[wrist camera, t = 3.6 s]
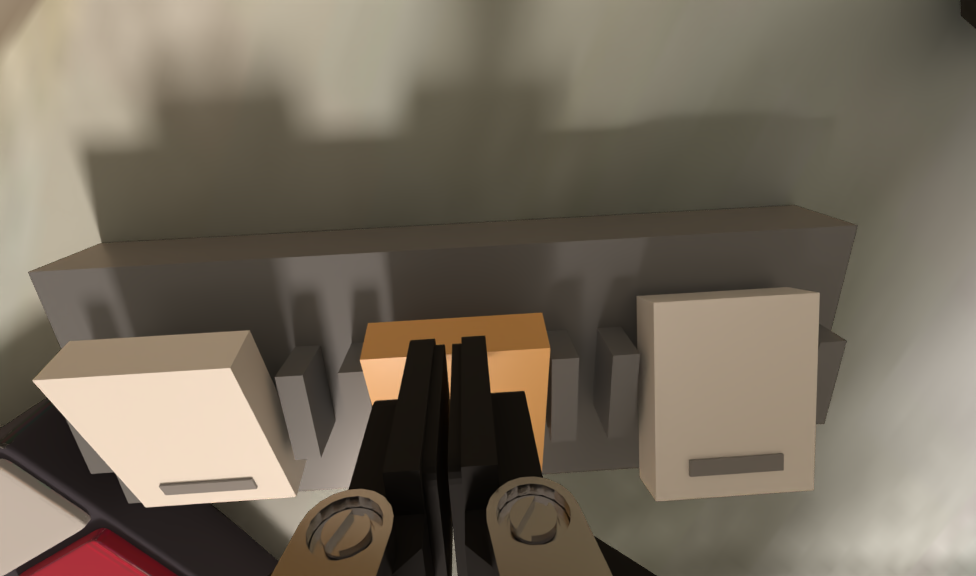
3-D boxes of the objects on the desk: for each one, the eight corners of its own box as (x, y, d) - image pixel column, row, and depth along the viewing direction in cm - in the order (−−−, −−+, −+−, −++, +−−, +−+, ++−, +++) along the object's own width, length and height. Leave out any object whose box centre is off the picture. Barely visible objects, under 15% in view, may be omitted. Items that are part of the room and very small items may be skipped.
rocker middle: (542, 312, 13) (550, 350, 12) (535, 442, 17) (541, 481, 15) (367, 323, 13) (359, 362, 12) (399, 452, 17) (394, 492, 15)
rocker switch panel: (794, 205, 17) (908, 241, 13) (754, 408, 21) (833, 493, 16) (100, 243, 17) (-32, 295, 12) (174, 447, 20) (92, 546, 16)
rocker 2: (787, 287, 15) (822, 293, 13) (783, 467, 16) (816, 491, 14) (636, 296, 15) (654, 303, 13) (639, 477, 15) (657, 503, 14)
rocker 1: (249, 330, 13) (228, 370, 12) (307, 458, 16) (295, 499, 15) (68, 341, 13) (28, 383, 12) (166, 468, 16) (144, 510, 15)
